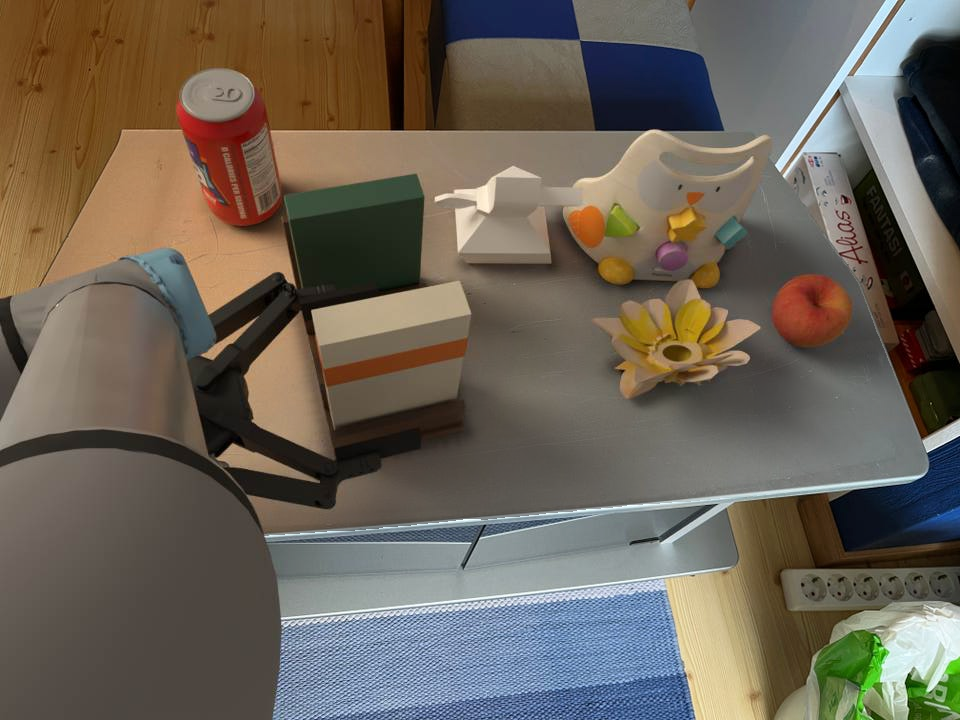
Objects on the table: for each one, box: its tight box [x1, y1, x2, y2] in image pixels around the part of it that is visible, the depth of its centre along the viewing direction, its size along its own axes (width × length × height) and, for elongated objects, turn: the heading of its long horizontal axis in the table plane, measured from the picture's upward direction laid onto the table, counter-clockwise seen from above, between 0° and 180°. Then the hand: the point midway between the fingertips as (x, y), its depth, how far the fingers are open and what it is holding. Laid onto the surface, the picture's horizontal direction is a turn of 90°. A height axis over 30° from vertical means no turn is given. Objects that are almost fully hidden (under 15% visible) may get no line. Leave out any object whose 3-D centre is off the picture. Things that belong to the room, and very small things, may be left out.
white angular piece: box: [434, 165, 583, 265], centre depth 75 cm, size 8×14×14 cm, turn 94°
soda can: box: [176, 67, 283, 227], centre depth 73 cm, size 8×8×15 cm
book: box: [311, 280, 472, 430], centre depth 61 cm, size 3×11×18 cm, turn 107°
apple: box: [771, 273, 854, 348], centre depth 76 cm, size 7×7×8 cm
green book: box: [283, 173, 426, 292], centre depth 67 cm, size 3×11×16 cm, turn 107°
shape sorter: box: [562, 129, 774, 289], centre depth 75 cm, size 20×10×18 cm, turn 92°
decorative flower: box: [590, 279, 761, 400], centre depth 72 cm, size 15×11×10 cm
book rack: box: [280, 214, 467, 460], centre depth 67 cm, size 18×12×13 cm, turn 17°
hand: (398, 362), depth 60 cm, fingers open, 13 cm apart
